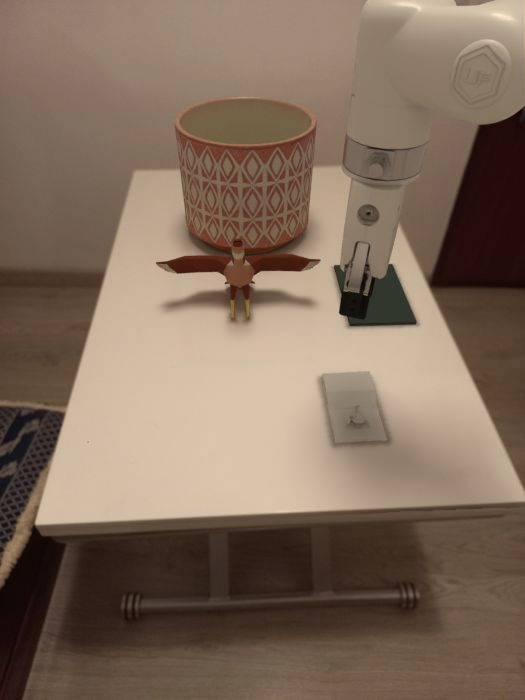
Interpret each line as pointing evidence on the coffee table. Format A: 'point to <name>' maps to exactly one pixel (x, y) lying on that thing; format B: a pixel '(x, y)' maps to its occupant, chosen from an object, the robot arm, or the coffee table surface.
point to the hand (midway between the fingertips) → (355, 303)
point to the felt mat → (383, 301)
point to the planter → (246, 170)
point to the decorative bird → (238, 267)
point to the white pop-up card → (353, 407)
